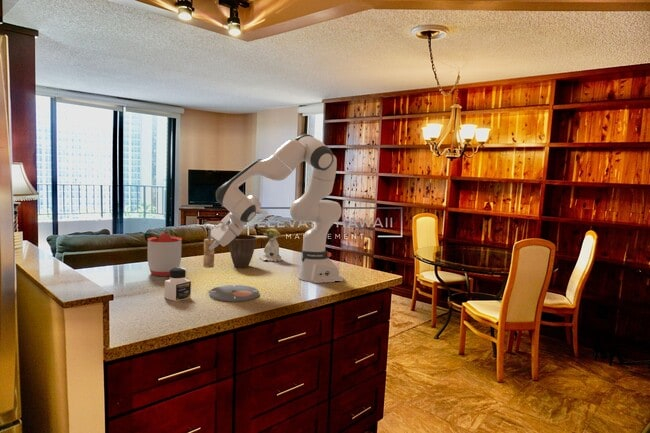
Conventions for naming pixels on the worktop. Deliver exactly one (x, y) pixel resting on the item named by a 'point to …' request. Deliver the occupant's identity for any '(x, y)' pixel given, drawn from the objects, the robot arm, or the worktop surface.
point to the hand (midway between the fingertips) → (207, 247)
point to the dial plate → (234, 293)
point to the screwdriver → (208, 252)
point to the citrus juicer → (164, 254)
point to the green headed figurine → (271, 246)
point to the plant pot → (242, 250)
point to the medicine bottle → (177, 285)
